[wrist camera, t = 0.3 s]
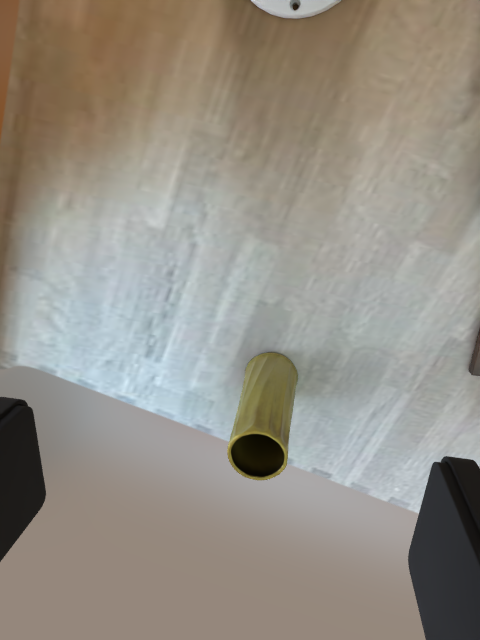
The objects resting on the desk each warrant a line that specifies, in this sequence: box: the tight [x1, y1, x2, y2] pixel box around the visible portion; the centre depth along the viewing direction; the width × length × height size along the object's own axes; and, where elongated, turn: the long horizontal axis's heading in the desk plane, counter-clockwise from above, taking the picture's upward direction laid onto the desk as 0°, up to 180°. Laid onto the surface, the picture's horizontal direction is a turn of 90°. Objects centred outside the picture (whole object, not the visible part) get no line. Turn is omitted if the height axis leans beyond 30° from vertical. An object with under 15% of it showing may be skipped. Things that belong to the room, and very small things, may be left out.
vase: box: [227, 353, 298, 480], centre depth 43 cm, size 6×6×14 cm
